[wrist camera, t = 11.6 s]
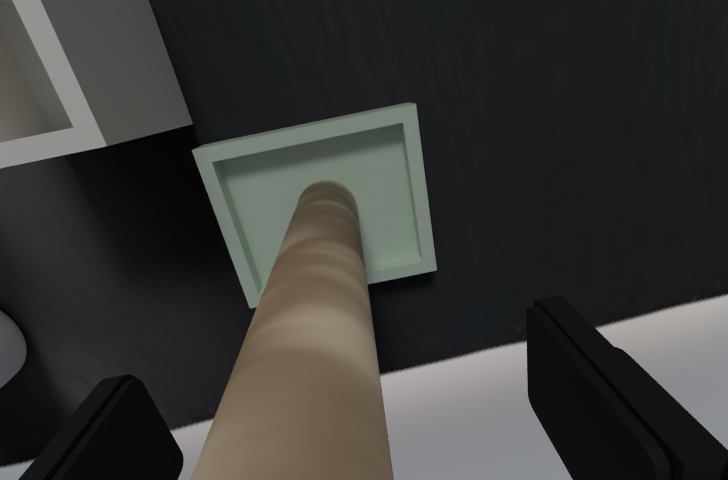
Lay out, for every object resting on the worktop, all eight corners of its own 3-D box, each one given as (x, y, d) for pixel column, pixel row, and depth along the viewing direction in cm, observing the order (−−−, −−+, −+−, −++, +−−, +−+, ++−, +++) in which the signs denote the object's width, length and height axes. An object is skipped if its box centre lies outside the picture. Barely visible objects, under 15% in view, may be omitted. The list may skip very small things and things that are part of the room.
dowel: (350, 174, 22) (381, 457, 5) (362, 230, 23) (417, 599, 6) (290, 186, 22) (124, 505, 5) (305, 242, 23) (213, 636, 6)
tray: (408, 102, 21) (415, 103, 19) (429, 256, 25) (436, 270, 23) (203, 144, 21) (191, 150, 19) (256, 292, 25) (250, 308, 23)
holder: (135, -38, 18) (-22, -136, 10) (192, 123, 21) (107, 145, 13) (-19, -6, 18) (-296, -79, 10) (60, 151, 21) (-105, 189, 13)
